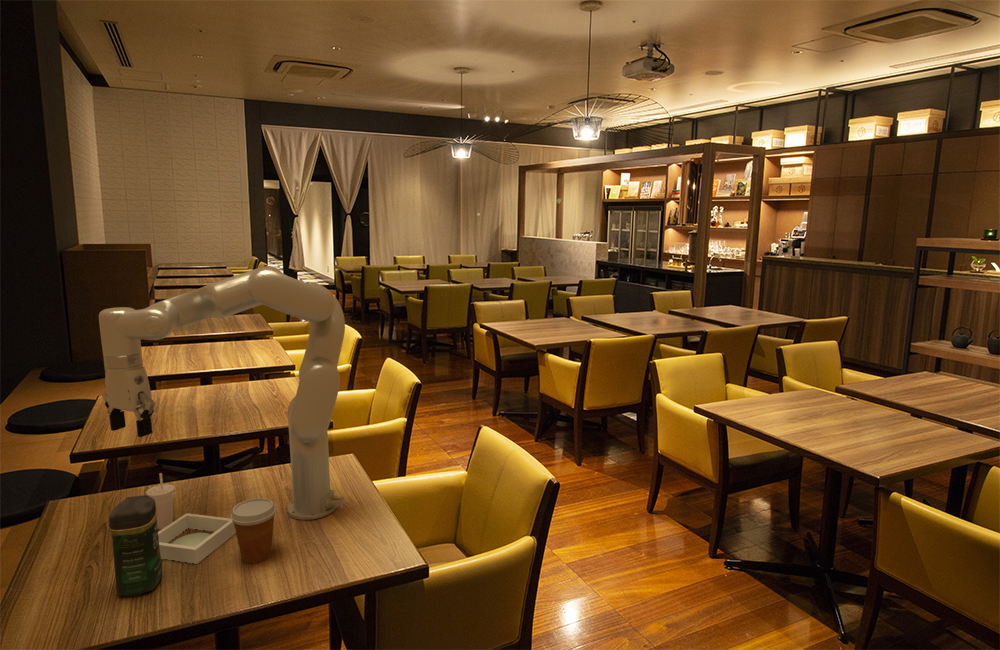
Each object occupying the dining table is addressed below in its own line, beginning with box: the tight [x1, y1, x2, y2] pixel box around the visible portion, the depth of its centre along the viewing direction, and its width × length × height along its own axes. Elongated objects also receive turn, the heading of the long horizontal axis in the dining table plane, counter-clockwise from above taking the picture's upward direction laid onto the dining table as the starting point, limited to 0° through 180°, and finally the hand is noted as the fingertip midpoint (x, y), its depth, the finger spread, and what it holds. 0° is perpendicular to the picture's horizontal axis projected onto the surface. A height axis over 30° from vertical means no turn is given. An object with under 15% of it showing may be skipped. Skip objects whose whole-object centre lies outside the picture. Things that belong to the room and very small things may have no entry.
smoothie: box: [145, 472, 176, 530], centre depth 148 cm, size 6×6×14 cm
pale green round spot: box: [171, 532, 211, 547], centre depth 141 cm, size 9×9×1 cm
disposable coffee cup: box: [230, 497, 277, 564], centre depth 135 cm, size 10×10×12 cm
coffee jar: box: [108, 494, 163, 597], centre depth 124 cm, size 10×8×19 cm
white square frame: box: [158, 512, 236, 565], centre depth 141 cm, size 14×14×4 cm
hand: (131, 432), depth 140 cm, fingers open, 9 cm apart
